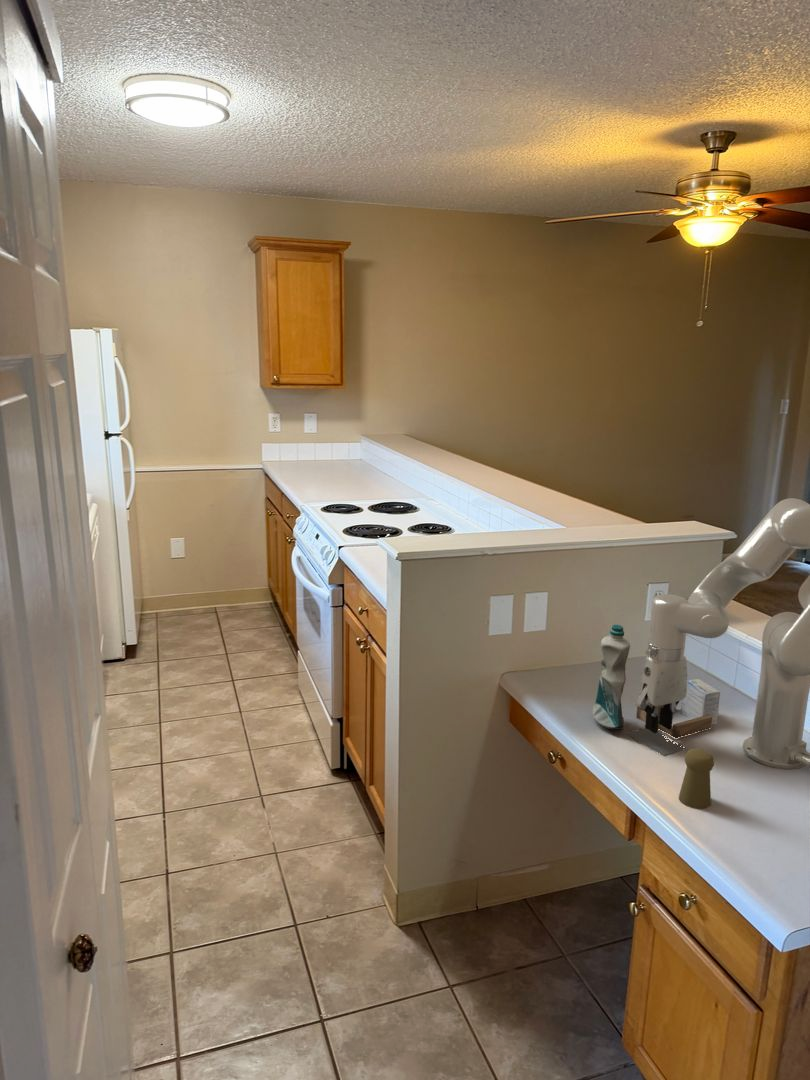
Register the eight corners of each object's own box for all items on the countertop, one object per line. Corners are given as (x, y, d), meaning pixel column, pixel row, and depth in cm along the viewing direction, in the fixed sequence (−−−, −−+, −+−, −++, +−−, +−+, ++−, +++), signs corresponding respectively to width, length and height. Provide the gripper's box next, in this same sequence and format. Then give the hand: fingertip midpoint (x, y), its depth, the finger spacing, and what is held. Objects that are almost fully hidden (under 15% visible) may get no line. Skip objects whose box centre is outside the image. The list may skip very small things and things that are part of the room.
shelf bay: (710, 730, 174) (712, 716, 173) (675, 740, 169) (677, 726, 169) (670, 708, 185) (671, 695, 184) (636, 717, 180) (637, 704, 179)
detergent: (584, 714, 182) (591, 615, 176) (613, 713, 183) (621, 615, 177) (603, 740, 169) (611, 636, 163) (634, 739, 170) (643, 635, 164)
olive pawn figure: (694, 815, 142) (700, 763, 139) (671, 798, 147) (676, 747, 144) (718, 808, 144) (724, 756, 141) (694, 792, 149) (700, 741, 147)
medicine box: (717, 725, 177) (721, 691, 175) (701, 728, 175) (705, 694, 173) (695, 711, 184) (698, 678, 182) (679, 713, 183) (683, 680, 181)
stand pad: (687, 750, 165) (687, 748, 165) (663, 757, 162) (663, 755, 162) (650, 728, 175) (650, 726, 175) (627, 735, 172) (627, 732, 172)
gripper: (649, 664, 157) (642, 744, 161) (706, 651, 164) (698, 728, 168) (624, 651, 163) (617, 729, 167) (680, 639, 170) (672, 714, 175)
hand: (658, 727), depth 168 cm, fingers open, 3 cm apart
